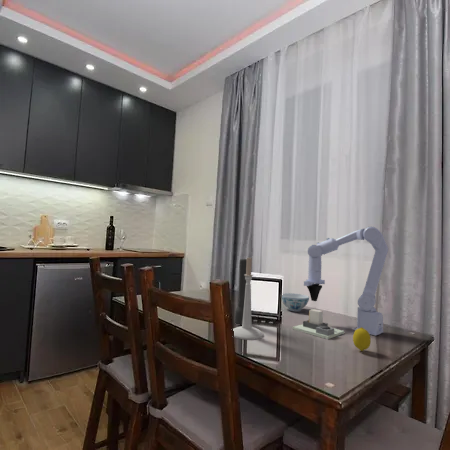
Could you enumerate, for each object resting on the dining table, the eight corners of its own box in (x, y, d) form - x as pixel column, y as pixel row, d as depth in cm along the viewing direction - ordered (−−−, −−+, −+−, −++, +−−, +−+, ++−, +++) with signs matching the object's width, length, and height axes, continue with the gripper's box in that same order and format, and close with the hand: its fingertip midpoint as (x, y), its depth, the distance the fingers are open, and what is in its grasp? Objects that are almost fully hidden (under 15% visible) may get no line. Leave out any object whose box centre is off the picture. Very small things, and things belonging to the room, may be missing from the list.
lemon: (355, 347, 109) (355, 324, 110) (372, 351, 106) (372, 327, 106) (350, 351, 105) (350, 327, 106) (367, 355, 102) (368, 330, 102)
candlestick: (265, 332, 124) (267, 256, 126) (260, 341, 112) (263, 258, 113) (234, 328, 127) (237, 255, 129) (226, 337, 115) (229, 256, 117)
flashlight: (250, 326, 131) (250, 322, 138) (252, 260, 133) (253, 259, 140) (234, 325, 132) (235, 321, 139) (236, 259, 133) (237, 258, 140)
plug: (322, 328, 129) (322, 311, 130) (318, 329, 127) (318, 312, 127) (311, 325, 133) (312, 308, 133) (307, 326, 131) (307, 309, 131)
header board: (344, 333, 126) (344, 325, 126) (327, 339, 118) (327, 330, 118) (310, 324, 138) (310, 316, 138) (292, 329, 129) (292, 320, 130)
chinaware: (312, 309, 170) (312, 295, 170) (303, 314, 157) (304, 299, 158) (286, 305, 178) (286, 292, 178) (276, 310, 165) (276, 295, 165)
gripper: (315, 269, 151) (315, 297, 150) (298, 270, 141) (297, 300, 140) (329, 271, 146) (328, 300, 145) (311, 272, 136) (311, 303, 135)
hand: (314, 300), depth 142 cm, fingers closed
